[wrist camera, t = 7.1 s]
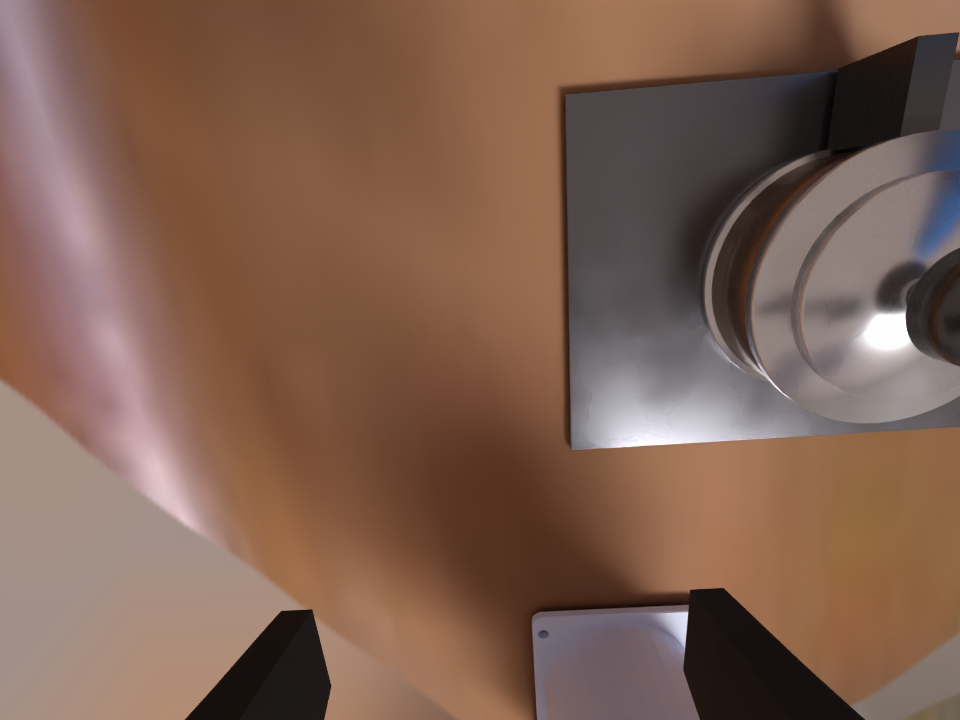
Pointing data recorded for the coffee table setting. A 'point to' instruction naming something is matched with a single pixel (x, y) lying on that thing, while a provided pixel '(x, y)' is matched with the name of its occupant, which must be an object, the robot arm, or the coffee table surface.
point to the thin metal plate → (732, 243)
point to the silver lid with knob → (886, 292)
